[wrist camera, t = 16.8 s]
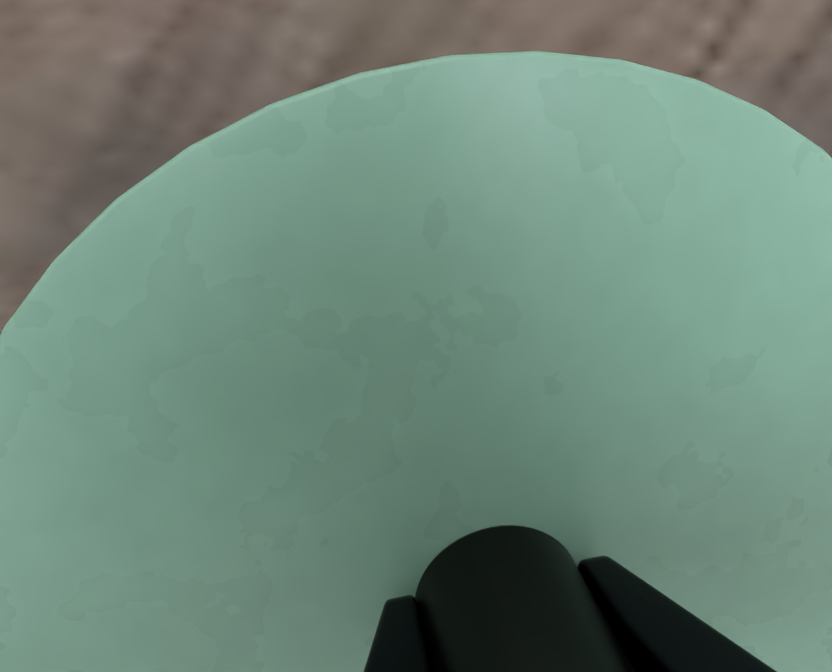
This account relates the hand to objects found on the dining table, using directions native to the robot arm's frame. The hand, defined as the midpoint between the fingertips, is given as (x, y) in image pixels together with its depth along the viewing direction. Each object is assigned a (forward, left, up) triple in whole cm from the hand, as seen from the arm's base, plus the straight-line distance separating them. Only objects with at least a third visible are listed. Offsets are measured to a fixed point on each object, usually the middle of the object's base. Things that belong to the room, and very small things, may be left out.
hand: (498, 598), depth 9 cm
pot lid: (0, 0, -1) cm, 1 cm away
